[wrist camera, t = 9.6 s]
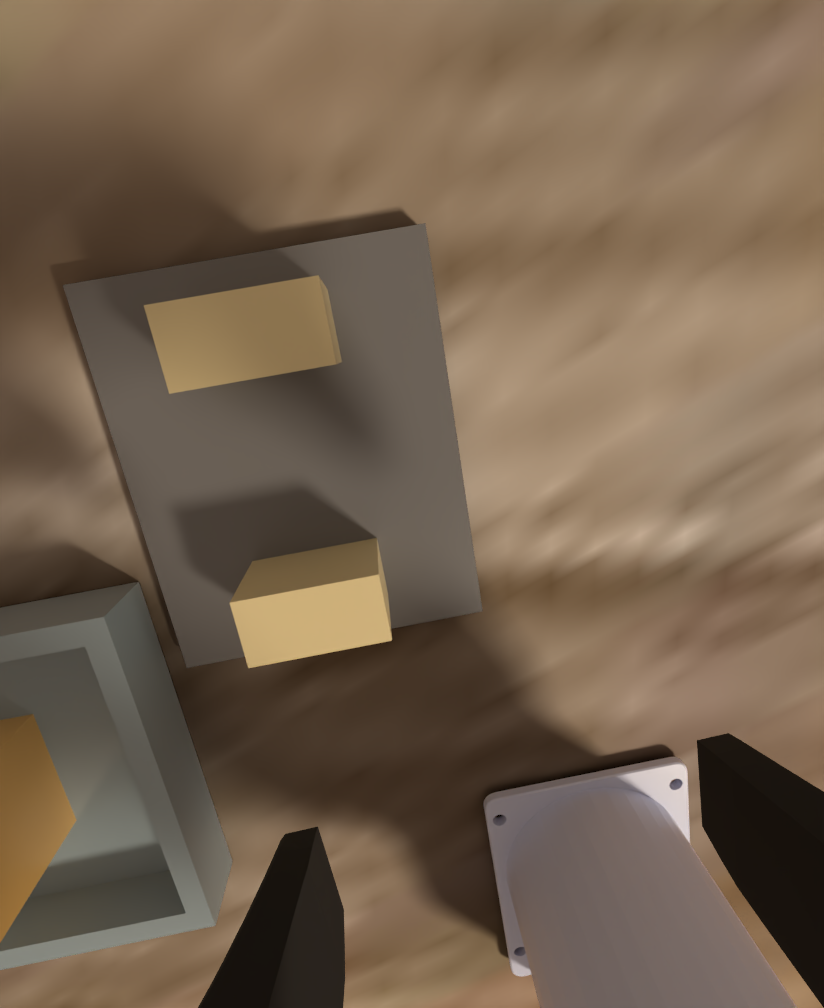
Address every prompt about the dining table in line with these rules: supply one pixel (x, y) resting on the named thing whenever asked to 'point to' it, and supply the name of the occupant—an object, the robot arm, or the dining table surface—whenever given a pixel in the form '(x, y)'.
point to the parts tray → (110, 779)
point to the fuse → (27, 814)
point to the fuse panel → (287, 443)
